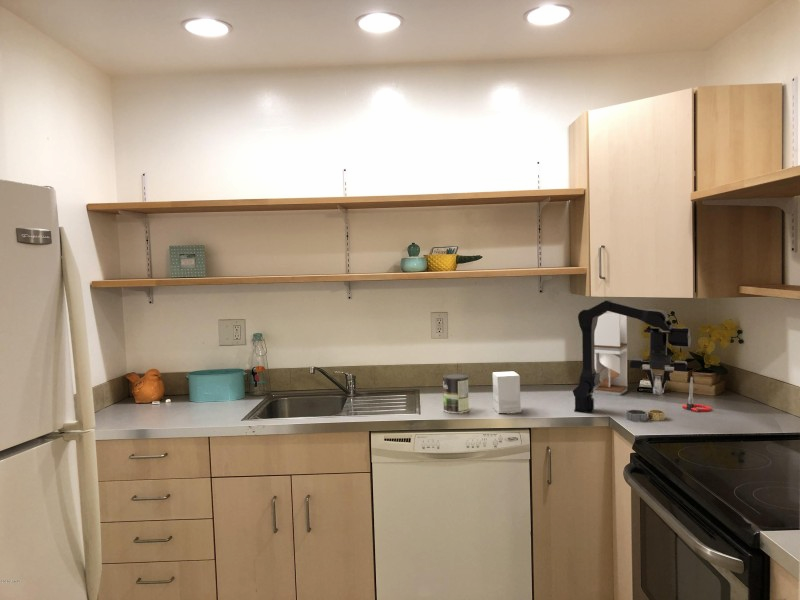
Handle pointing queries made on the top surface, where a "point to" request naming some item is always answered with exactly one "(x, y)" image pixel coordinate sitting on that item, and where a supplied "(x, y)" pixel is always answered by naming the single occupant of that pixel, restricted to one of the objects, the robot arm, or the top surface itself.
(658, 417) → the small brass socket
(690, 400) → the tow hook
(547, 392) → the top surface
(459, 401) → the coffee can
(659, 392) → the round-tipped metal peg
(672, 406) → the top surface
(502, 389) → the supplement box
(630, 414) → the wide steel socket
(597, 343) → the spiral ramp tower
